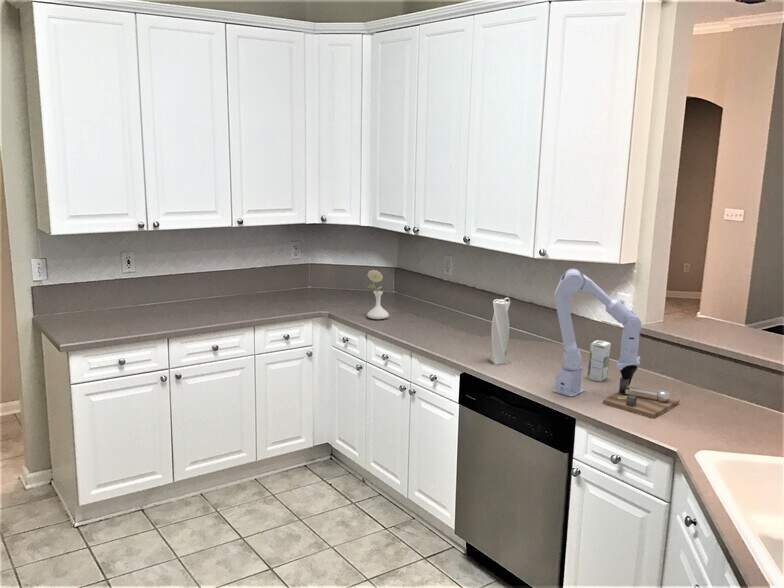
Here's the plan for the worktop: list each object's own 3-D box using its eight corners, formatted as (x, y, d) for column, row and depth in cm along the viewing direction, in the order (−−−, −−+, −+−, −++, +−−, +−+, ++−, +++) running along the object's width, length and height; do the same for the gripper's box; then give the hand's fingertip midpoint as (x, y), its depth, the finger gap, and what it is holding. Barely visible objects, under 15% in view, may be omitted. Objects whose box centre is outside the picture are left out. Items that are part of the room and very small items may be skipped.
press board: (653, 418, 218) (655, 405, 217) (602, 403, 231) (603, 391, 230) (679, 403, 232) (680, 391, 231) (629, 390, 245) (630, 378, 244)
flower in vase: (393, 318, 347) (394, 270, 341) (379, 322, 338) (380, 273, 333) (374, 314, 354) (374, 267, 349) (359, 317, 346) (360, 270, 341)
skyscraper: (512, 365, 272) (516, 298, 267) (493, 366, 271) (497, 298, 265) (504, 359, 280) (508, 293, 275) (486, 360, 279) (489, 294, 273)
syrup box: (593, 375, 261) (596, 339, 258) (607, 378, 257) (611, 342, 254) (587, 379, 256) (590, 342, 253) (601, 382, 253) (605, 345, 250)
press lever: (667, 403, 227) (668, 388, 226) (617, 393, 236) (618, 379, 235) (669, 399, 231) (671, 385, 230) (620, 390, 239) (621, 376, 238)
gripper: (630, 354, 228) (627, 392, 231) (649, 346, 238) (646, 383, 241) (611, 350, 233) (608, 387, 236) (630, 342, 243) (627, 378, 246)
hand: (626, 384), depth 238 cm, fingers closed
